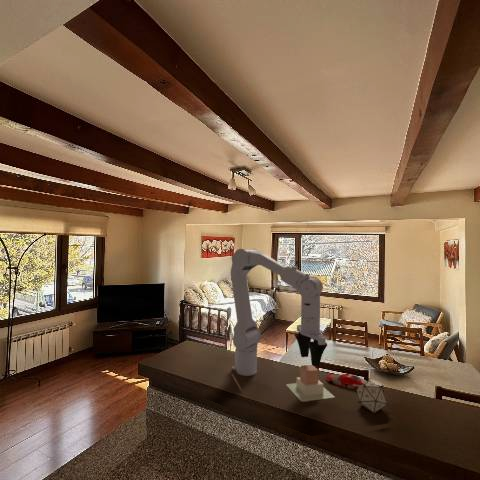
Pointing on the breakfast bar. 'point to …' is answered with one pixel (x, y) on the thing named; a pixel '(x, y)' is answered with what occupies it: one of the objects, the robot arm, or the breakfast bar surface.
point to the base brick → (309, 387)
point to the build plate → (303, 398)
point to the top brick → (309, 374)
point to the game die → (371, 396)
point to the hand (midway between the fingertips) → (309, 360)
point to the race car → (345, 380)
